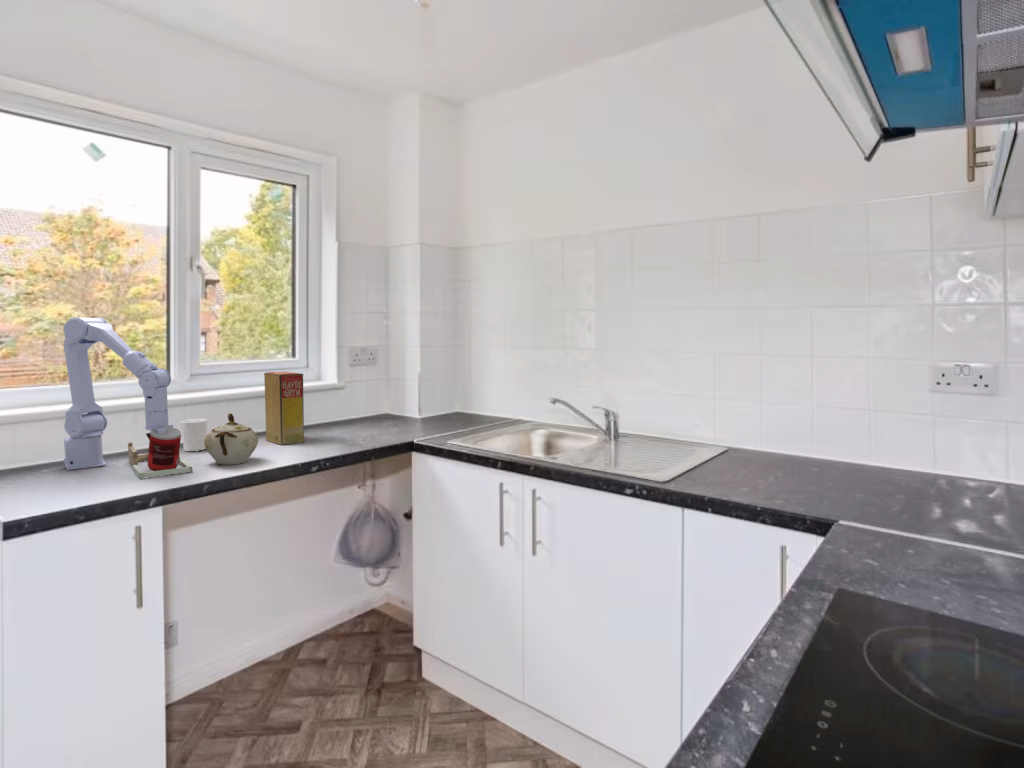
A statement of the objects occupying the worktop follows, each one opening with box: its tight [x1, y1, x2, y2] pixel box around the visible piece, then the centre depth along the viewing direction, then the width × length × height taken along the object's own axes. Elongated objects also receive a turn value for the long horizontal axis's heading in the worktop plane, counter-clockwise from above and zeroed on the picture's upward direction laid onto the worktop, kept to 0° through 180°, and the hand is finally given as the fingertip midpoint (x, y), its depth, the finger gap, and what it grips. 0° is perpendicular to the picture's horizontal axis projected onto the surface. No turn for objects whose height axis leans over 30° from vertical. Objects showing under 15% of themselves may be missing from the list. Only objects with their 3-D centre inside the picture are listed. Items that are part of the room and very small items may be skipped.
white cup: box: [180, 418, 208, 452], centre depth 205 cm, size 8×8×10 cm
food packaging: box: [263, 371, 305, 446], centre depth 220 cm, size 13×9×25 cm
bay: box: [132, 458, 194, 479], centre depth 175 cm, size 13×13×2 cm
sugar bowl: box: [204, 413, 259, 466], centre depth 187 cm, size 20×15×15 cm
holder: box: [127, 441, 181, 467], centre depth 186 cm, size 12×11×6 cm
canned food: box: [147, 426, 182, 471], centre depth 175 cm, size 8×8×11 cm
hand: (159, 456), depth 179 cm, fingers closed
